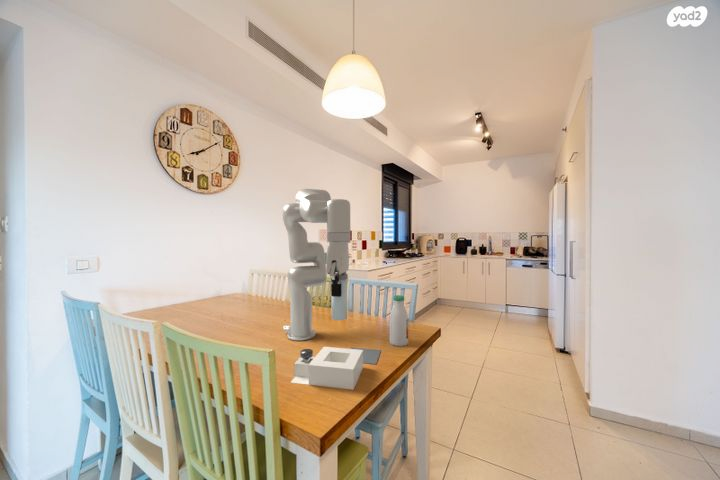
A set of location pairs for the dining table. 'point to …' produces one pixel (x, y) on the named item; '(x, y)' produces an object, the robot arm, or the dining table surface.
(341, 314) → the cartridge
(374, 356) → the mat
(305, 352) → the plunger
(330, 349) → the housing
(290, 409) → the dining table surface
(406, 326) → the milk bottle
